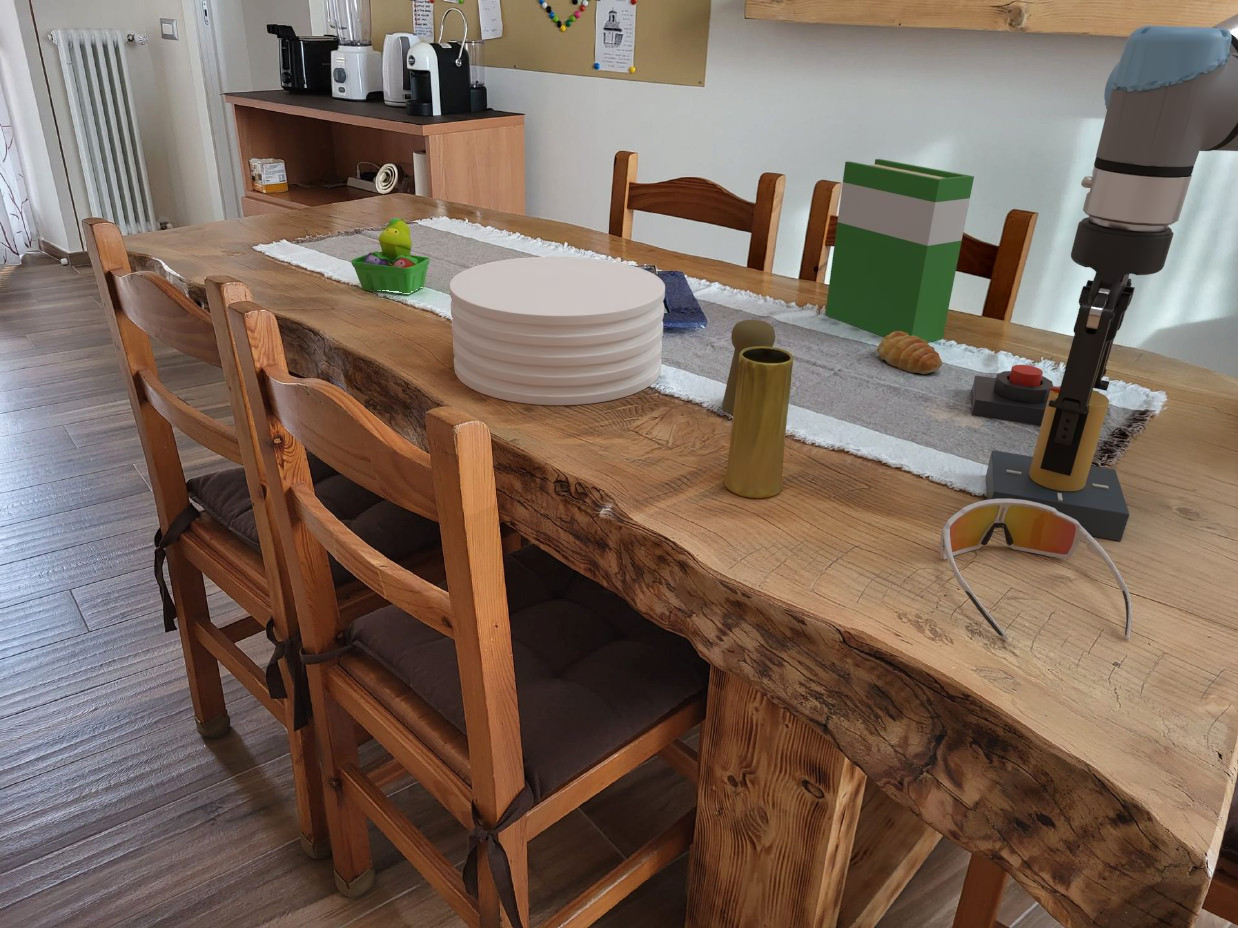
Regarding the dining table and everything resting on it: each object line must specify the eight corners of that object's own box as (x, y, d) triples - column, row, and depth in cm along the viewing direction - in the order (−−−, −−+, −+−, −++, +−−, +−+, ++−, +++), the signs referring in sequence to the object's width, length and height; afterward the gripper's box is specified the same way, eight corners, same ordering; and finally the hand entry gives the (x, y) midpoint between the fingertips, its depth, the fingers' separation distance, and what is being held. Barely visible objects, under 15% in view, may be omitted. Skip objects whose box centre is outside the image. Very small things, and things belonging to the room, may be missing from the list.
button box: (1061, 403, 117) (1069, 374, 116) (1067, 430, 110) (1076, 399, 108) (971, 390, 120) (977, 362, 119) (971, 416, 113) (978, 385, 111)
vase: (711, 482, 95) (721, 352, 89) (751, 466, 99) (764, 340, 92) (754, 505, 91) (769, 370, 84) (794, 487, 94) (811, 357, 88)
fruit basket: (351, 291, 154) (344, 223, 149) (379, 278, 161) (373, 213, 156) (411, 299, 150) (406, 229, 145) (437, 285, 158) (433, 219, 153)
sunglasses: (1063, 540, 86) (1080, 497, 83) (1144, 659, 74) (1167, 614, 71) (915, 540, 85) (927, 497, 82) (972, 660, 73) (989, 615, 70)
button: (1038, 380, 114) (1042, 366, 114) (1040, 390, 111) (1043, 376, 111) (1008, 375, 115) (1011, 362, 115) (1009, 385, 112) (1012, 372, 112)
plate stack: (414, 358, 125) (408, 276, 120) (573, 321, 142) (573, 247, 137) (538, 424, 107) (536, 330, 102) (703, 372, 124) (709, 289, 119)
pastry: (952, 373, 126) (958, 347, 124) (915, 380, 123) (919, 353, 122) (906, 351, 134) (910, 326, 132) (869, 358, 131) (873, 332, 129)
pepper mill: (713, 409, 112) (719, 323, 107) (735, 394, 117) (743, 311, 112) (757, 421, 109) (766, 334, 104) (778, 406, 114) (788, 321, 109)
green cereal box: (825, 315, 149) (845, 161, 138) (857, 308, 153) (879, 159, 142) (909, 346, 136) (939, 180, 125) (942, 339, 139) (974, 176, 129)
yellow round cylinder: (1088, 476, 92) (1113, 390, 88) (1080, 496, 88) (1106, 407, 84) (1034, 463, 94) (1056, 378, 90) (1023, 481, 90) (1045, 394, 86)
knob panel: (1107, 494, 95) (1116, 467, 94) (1121, 541, 86) (1130, 512, 85) (985, 474, 98) (992, 448, 97) (987, 517, 90) (994, 489, 88)
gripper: (1096, 201, 88) (1040, 420, 99) (1061, 232, 75) (1000, 483, 85) (1184, 211, 85) (1116, 438, 95) (1164, 247, 71) (1087, 507, 81)
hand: (1061, 459), depth 90 cm, fingers closed on yellow round cylinder, 5 cm apart
